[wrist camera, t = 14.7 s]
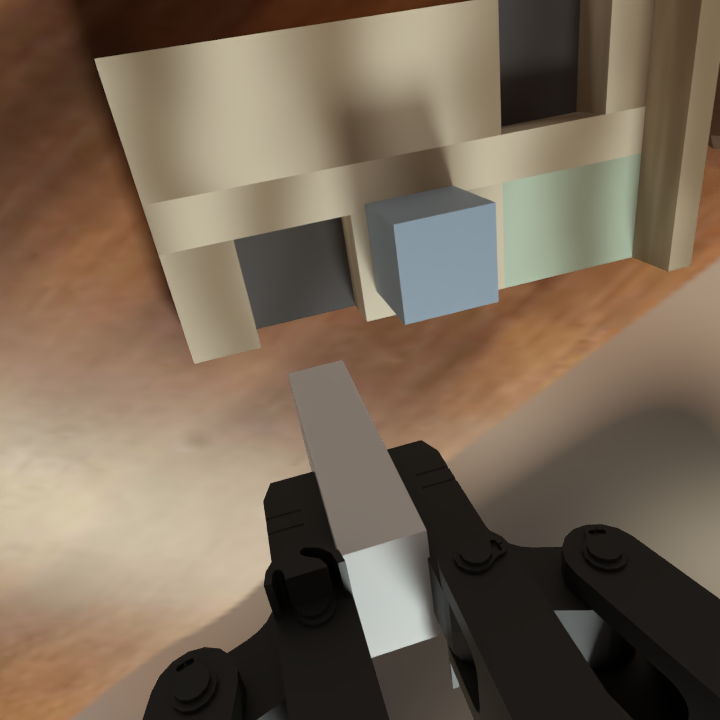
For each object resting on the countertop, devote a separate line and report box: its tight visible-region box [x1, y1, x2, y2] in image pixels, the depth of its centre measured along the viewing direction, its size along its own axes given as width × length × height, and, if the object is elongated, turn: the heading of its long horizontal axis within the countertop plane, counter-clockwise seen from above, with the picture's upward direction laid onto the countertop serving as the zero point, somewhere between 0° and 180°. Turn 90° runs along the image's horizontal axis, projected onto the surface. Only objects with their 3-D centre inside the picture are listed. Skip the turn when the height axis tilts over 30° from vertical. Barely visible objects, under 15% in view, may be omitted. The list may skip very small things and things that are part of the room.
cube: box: [365, 186, 499, 325], centre depth 23 cm, size 4×4×4 cm
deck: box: [94, 0, 720, 364], centre depth 24 cm, size 23×12×5 cm, turn 98°
